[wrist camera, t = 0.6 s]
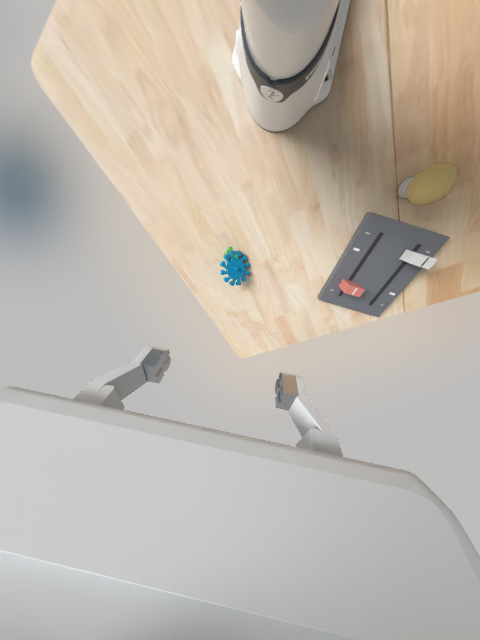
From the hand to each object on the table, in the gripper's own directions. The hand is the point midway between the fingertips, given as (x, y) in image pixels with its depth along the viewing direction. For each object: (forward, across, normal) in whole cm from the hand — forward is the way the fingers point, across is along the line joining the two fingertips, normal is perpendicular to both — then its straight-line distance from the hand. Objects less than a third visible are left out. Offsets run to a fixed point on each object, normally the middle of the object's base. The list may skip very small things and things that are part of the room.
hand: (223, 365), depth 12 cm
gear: (+45, +5, +7) cm, 46 cm away
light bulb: (+45, -31, -16) cm, 57 cm away
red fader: (+42, -28, +6) cm, 51 cm away
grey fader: (+42, -39, -4) cm, 58 cm away
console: (+45, -34, +2) cm, 56 cm away
